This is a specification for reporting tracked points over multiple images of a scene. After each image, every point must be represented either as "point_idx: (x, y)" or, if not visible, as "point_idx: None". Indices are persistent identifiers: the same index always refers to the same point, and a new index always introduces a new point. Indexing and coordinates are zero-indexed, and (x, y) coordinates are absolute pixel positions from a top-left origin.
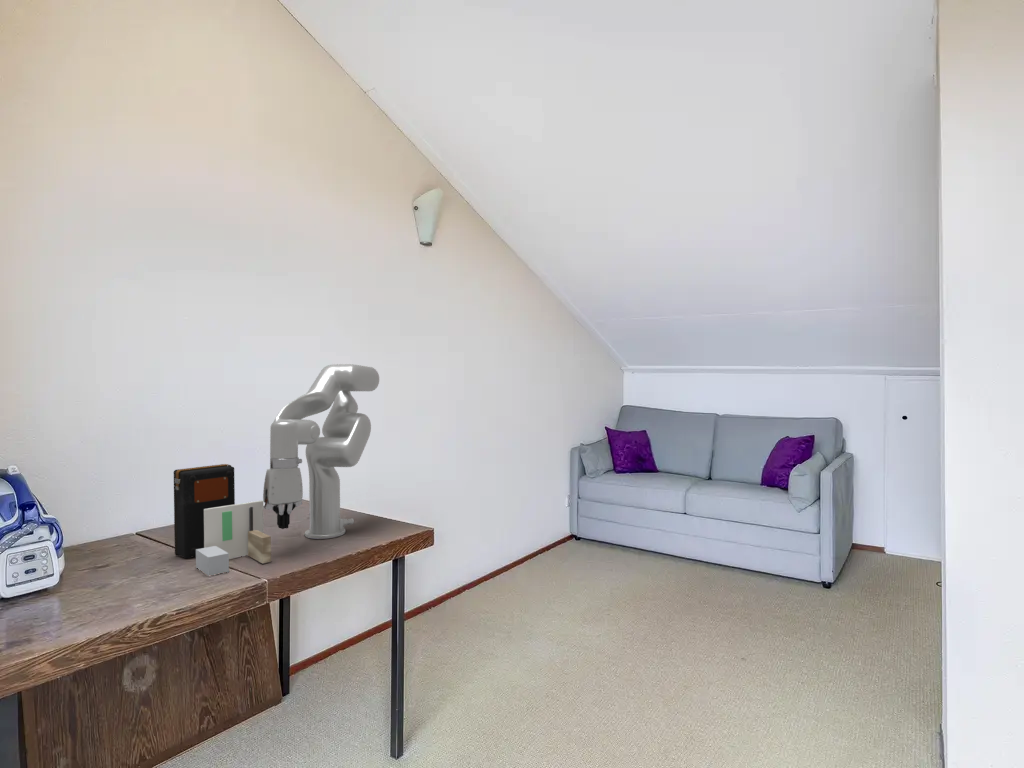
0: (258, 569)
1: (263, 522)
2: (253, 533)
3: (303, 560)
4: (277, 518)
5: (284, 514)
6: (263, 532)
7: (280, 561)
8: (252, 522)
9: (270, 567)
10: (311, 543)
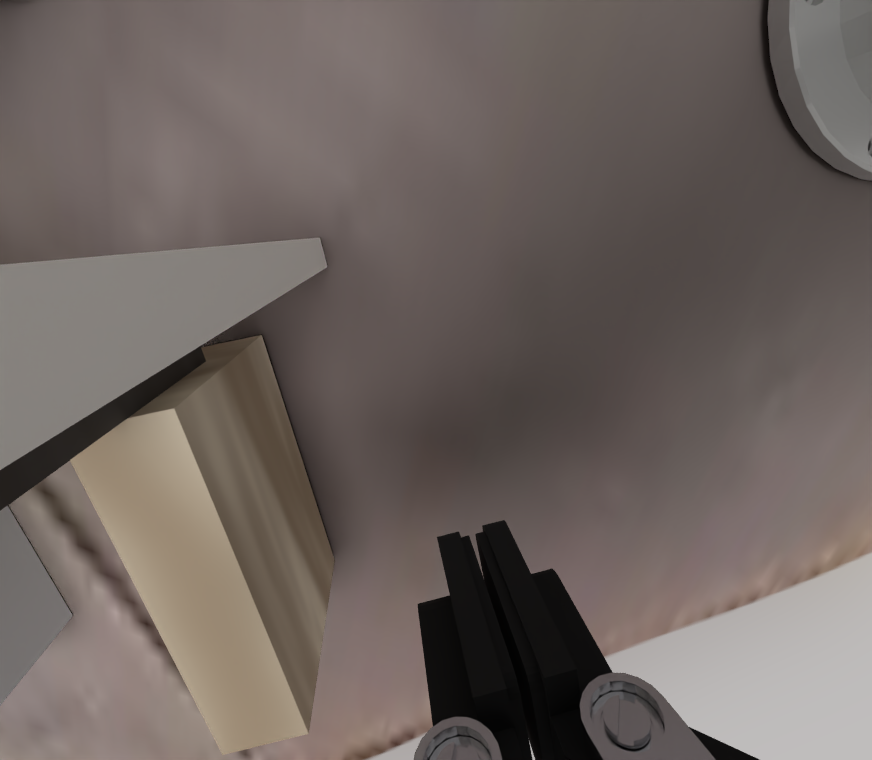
0: None
1: (264, 304)
2: (134, 565)
3: None
4: (428, 686)
5: (548, 756)
6: (294, 286)
7: (392, 553)
8: (37, 477)
9: None
10: (706, 234)
